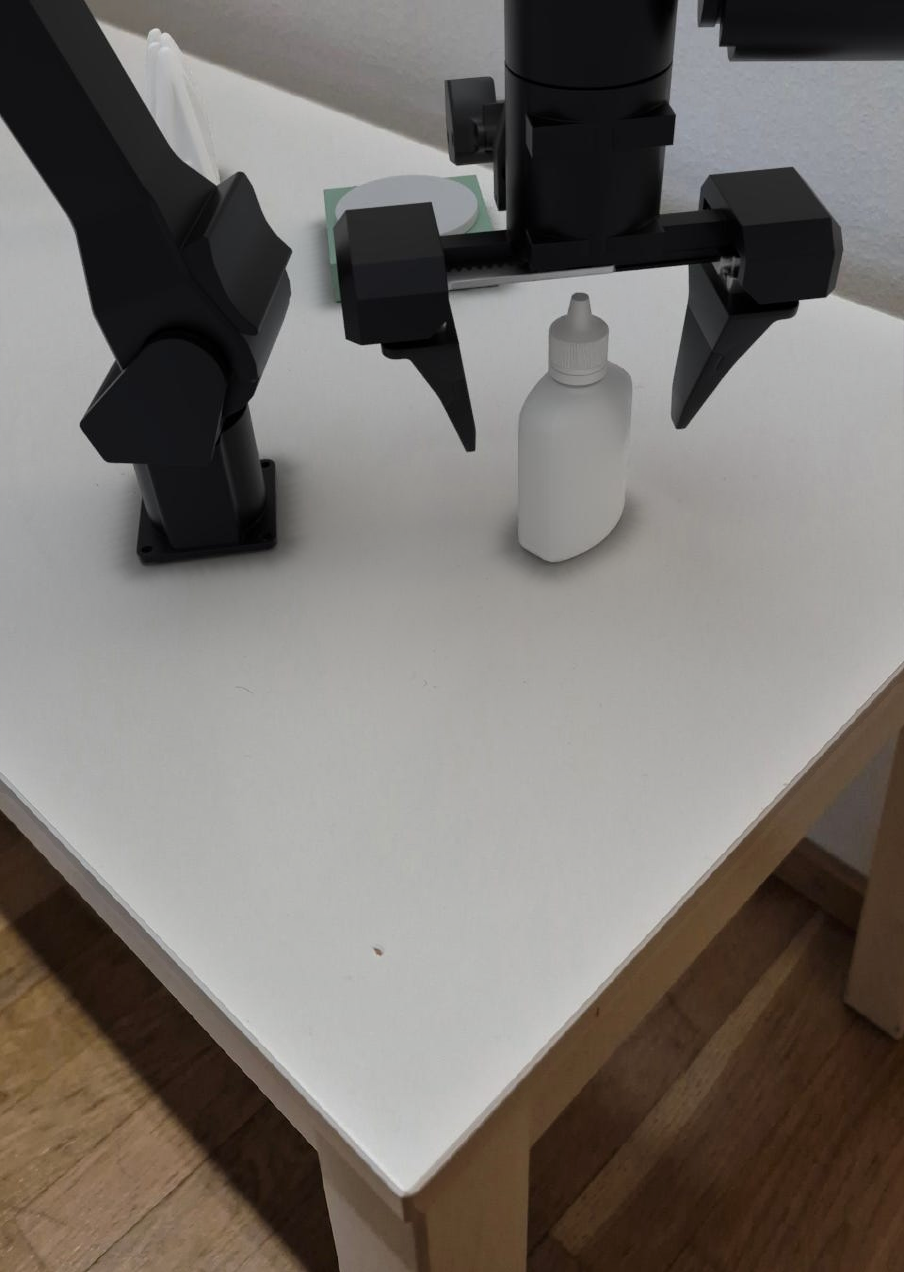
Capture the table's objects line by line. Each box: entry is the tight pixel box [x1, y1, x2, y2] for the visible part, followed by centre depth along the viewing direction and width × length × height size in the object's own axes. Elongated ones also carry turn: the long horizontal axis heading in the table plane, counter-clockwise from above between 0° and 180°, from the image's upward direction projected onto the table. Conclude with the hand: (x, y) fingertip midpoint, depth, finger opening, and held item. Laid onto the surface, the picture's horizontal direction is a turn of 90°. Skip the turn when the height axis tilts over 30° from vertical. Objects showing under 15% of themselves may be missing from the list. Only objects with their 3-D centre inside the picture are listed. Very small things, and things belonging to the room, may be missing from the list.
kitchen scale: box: [323, 174, 496, 303], centre depth 72 cm, size 10×10×3 cm
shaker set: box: [144, 27, 221, 186], centre depth 76 cm, size 12×4×11 cm, turn 13°
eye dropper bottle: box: [517, 292, 634, 563], centre depth 50 cm, size 4×6×12 cm
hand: (574, 434), depth 51 cm, fingers open, 9 cm apart
